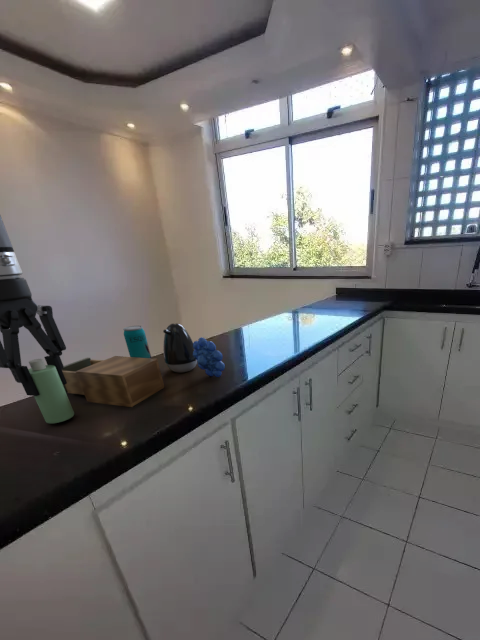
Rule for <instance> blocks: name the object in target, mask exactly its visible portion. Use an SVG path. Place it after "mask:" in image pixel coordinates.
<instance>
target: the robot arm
mask: <svg viewBox="0 0 480 640" xmlns="http://www.w3.org/2000/svg"><path fill="white" fill-rule="evenodd" d="M23 273H24V272H23V269H22V267H21V264H20V262H19V259H18V256H17V255H16V252H15V250H14V247H13V244H12V241H11V239H10V237H9V234H8V232H7V229H6V226H5V224H4V220H3V219H2V215H0V333H1V334H2V335H1V336H2V340H0V368H3V369H9V370H10V373H11V375H12V376H13V379H14V380H15V382H16V383H19V384H21V385H22V387H23V390H24V391H25V393H26V396H29V397H30V396H32V397H34V396H38V395H40V394H39V392H38V390H37V388H36V385H35V383H34V381H33V379H32V377H31V374H30V372H29V370H28V369H29V367H28V365H22V358H21V350H20V340H19V334H20V329H21V328H22V327H23V328H24V329H26V330H27V331H28V332H29V333H30V334H31V336H32V337H33V339H34V340H35V341H36V342H37V343H38V344H39V345H40V347H41V348H42V350H43V351H44V352H45V353H46V354H47V355H46V356H44V360H45V362H46V365H54V366H55V367H56V370H57V372H58V374H59V377H60V379H61V382H62V384H63V385H65V384H67V382H66V379H65V377H64V374H63V372H62V368H63V366H64V363H63V360H62V359H61V356H62V355H63V351H66V350H67V346H66V344H65V341H64V339H63V336H62V335H61V332H60V330H59V328H58V325H57V323H56V321H55V319H54V313H53V307H52V306H51V305H40V304H37V303H36V302H35V301H34V300H33V298H32V292H31V289H30V286H29V284H28V281H27V279H26V278H24V277H21V276H22V275H23ZM37 315H38V318H39V320H40V321H39V320H38V319H37V317H36V316H37ZM40 322H41V323H40ZM42 326H43V328H42ZM2 343H3V344H2Z"/></svg>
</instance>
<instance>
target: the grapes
mask: <svg viewBox="0 0 480 640" xmlns="http://www.w3.org/2000/svg"><path fill="white" fill-rule="evenodd" d="M193 347H194V349H195V350H194V351H193V356H194V358H195V359H197V366H198V367H197V368H199V369H200V370H203V371H204V373H205V374H206V375H207V376H209V377H213V376H214V377H216V378H220V377H221V376H222V373H223V371H224V370H225V369H226V366H225V363H224V362H223V361H222V360H223V359H224V358H223V353H222V351H220V350H217V346H216V344H215V343H214V342H213V341H211V340H207V338H205V337H199V338H198V339H197V340H194V341H193Z"/></svg>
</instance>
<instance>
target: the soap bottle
mask: <svg viewBox="0 0 480 640" xmlns="http://www.w3.org/2000/svg"><path fill="white" fill-rule="evenodd" d="M28 364H29V366H30V368H28V370H29V372H30V374H31V377H32V379H33V381H34V383H35V385H36V388H37V390H38V392H39V394H40V395H38V396H33V398H34V400H35V402H36V404H37V406H38V408H39V410H40V413H41V415H42V417H43V419H44V421H45V423H46V424H57V423H58V424H59V423H62V422H65V421H67V420H70V419H71V418H73V417H74V415H75V411H74V409H73V406H72V404H71V401H70V399H69V397H68V394H67V393H66V392H65V389H64V387H63V384H62V382H61V379H60V377H59V374H58V372H57V370H56V367H55V366H54V365H47V364H45V361H44V359H43V358H35V359H31V360H29V361H28Z"/></svg>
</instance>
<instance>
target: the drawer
mask: <svg viewBox="0 0 480 640" xmlns="http://www.w3.org/2000/svg"><path fill="white" fill-rule="evenodd" d="M101 361H103V359H93V358H92V359H91V357H85V358H82V359H79V360H76V361H73V362H70V363H68V364H65V365H63V368H62V372H63V374H64V377H65V379H66V382H67V384H65V385H63V387H64V389H65V392H66V394H67V393H68V394H72V395H73V394H75V395H81V396H85V395H84V392H83V389H82V387H81V384H80V382H79V379H78V376H77V374H76V371H78V370H80V369H83V368H85V367H88V366H91V365H93V364H96V363H98V362H101Z"/></svg>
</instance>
